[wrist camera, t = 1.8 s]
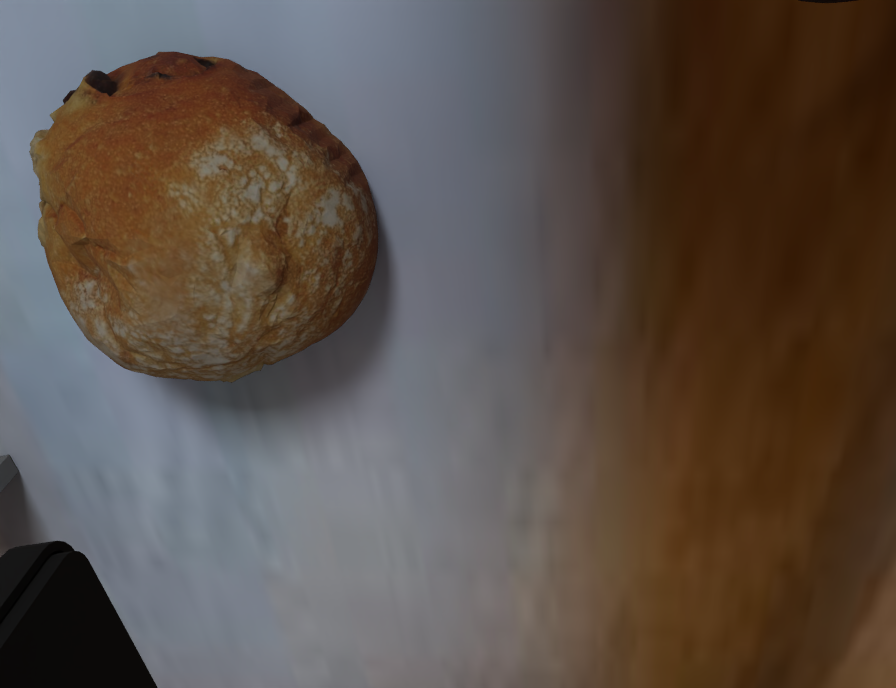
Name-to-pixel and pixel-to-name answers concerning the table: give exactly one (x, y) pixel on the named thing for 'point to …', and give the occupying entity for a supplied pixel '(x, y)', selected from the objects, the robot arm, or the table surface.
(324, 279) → the bread roll
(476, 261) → the table surface
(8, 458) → the bin
